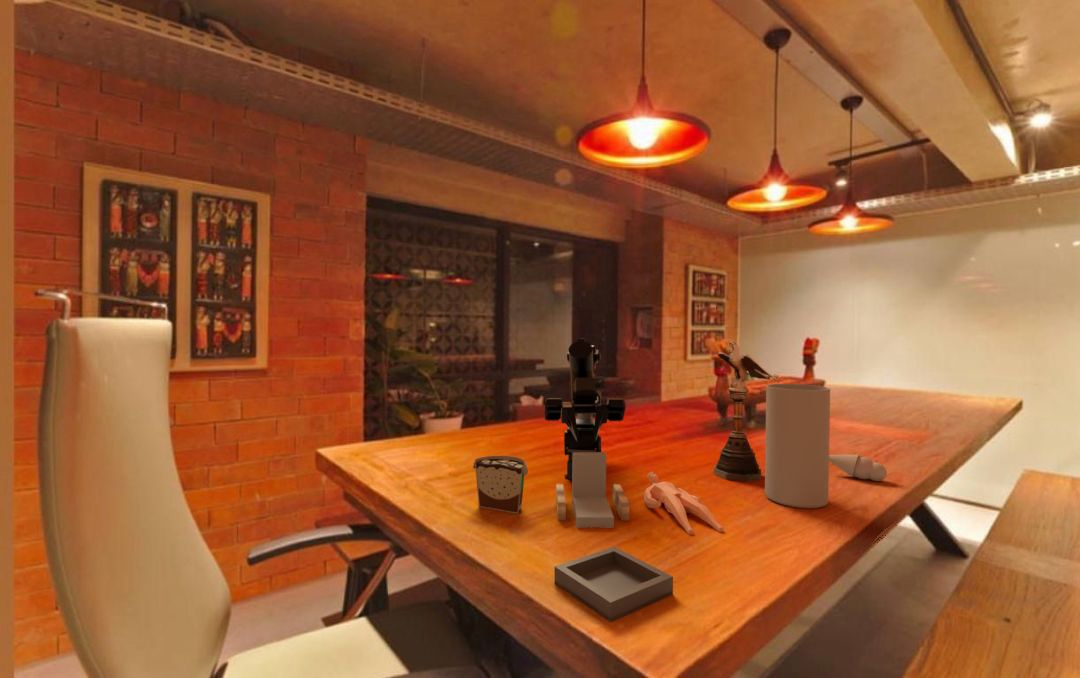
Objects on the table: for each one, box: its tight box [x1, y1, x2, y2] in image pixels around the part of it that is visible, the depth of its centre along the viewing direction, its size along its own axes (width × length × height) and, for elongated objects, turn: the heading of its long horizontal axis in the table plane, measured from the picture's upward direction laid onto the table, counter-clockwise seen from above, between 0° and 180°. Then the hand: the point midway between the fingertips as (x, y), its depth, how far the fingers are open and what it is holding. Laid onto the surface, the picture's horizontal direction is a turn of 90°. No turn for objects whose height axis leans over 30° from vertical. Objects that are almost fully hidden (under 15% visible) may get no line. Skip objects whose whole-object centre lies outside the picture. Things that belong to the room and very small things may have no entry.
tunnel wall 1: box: [555, 483, 567, 521], centre depth 105 cm, size 12×2×4 cm, turn 0°
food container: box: [472, 455, 529, 515], centre depth 107 cm, size 12×6×10 cm, turn 65°
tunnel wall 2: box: [612, 483, 630, 522], centre depth 105 cm, size 12×2×4 cm, turn 0°
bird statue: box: [713, 341, 780, 483], centre depth 132 cm, size 17×13×35 cm
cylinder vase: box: [764, 383, 831, 509], centre depth 112 cm, size 12×12×25 cm
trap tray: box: [554, 546, 674, 622], centre depth 73 cm, size 12×12×2 cm
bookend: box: [571, 451, 615, 529], centre depth 102 cm, size 14×7×11 cm, turn 0°
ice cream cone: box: [829, 453, 888, 482], centre depth 129 cm, size 6×6×15 cm
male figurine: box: [643, 471, 725, 535], centre depth 105 cm, size 11×5×25 cm
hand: (586, 440), depth 114 cm, fingers open, 4 cm apart
